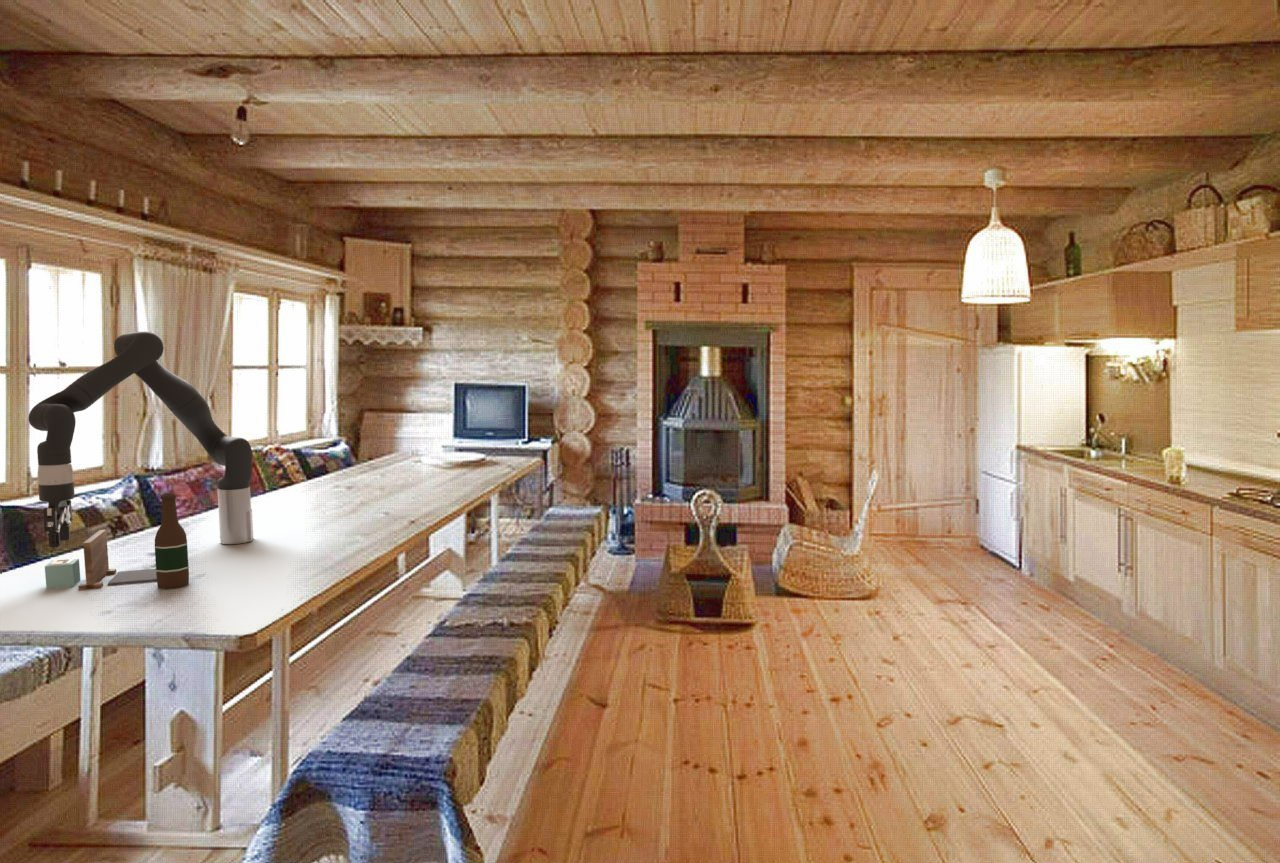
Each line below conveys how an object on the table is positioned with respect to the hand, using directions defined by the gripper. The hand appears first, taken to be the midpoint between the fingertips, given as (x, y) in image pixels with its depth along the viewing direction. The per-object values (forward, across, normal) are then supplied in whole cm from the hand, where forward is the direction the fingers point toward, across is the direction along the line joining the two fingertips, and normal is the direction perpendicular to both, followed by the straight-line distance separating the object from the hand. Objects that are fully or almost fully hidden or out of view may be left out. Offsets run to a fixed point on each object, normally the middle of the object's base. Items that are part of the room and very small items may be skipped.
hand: (60, 543), depth 216 cm
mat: (+11, +1, -17) cm, 20 cm away
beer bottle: (+11, -11, -27) cm, 31 cm away
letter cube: (+11, 0, 0) cm, 11 cm away
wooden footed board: (+11, +1, -8) cm, 13 cm away
